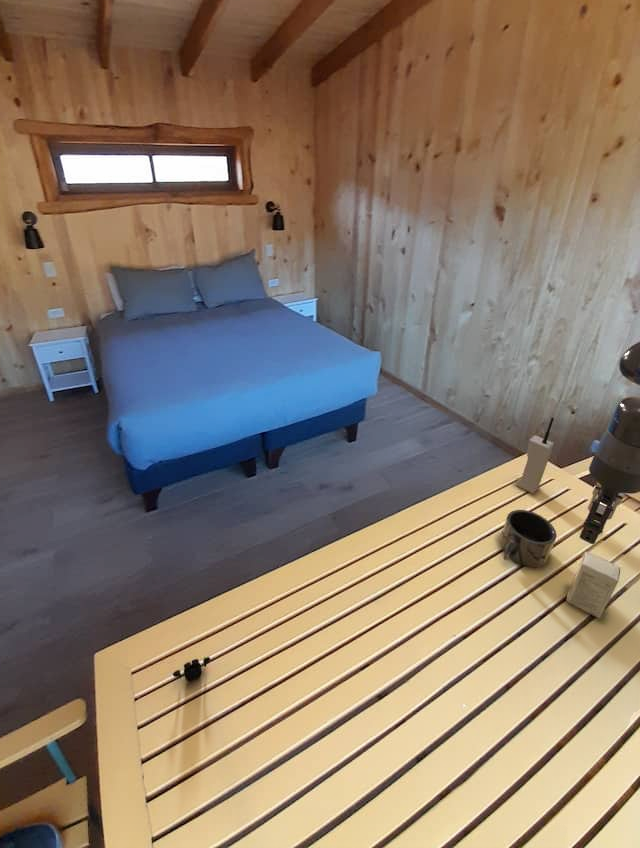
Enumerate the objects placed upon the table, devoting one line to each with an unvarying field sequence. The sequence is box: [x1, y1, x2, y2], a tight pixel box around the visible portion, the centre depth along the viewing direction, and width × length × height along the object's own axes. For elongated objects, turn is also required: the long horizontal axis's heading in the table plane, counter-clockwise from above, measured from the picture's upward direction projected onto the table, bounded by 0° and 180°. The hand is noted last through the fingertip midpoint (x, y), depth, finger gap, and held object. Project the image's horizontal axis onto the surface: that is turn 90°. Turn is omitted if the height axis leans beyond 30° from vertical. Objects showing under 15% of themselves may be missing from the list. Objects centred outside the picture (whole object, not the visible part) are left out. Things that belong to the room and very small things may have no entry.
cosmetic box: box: [566, 551, 621, 619], centre depth 85 cm, size 6×4×12 cm
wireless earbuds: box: [172, 656, 211, 682], centre depth 75 cm, size 7×2×5 cm, turn 113°
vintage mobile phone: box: [515, 417, 555, 494], centre depth 114 cm, size 4×5×25 cm
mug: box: [499, 509, 557, 568], centre depth 98 cm, size 14×10×8 cm
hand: (592, 526), depth 74 cm, fingers open, 8 cm apart
